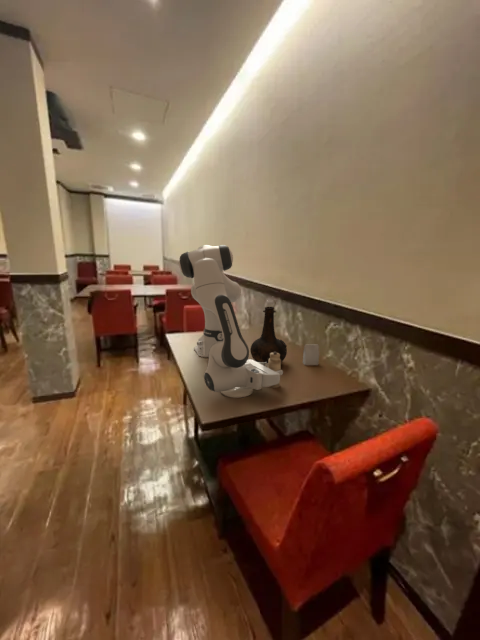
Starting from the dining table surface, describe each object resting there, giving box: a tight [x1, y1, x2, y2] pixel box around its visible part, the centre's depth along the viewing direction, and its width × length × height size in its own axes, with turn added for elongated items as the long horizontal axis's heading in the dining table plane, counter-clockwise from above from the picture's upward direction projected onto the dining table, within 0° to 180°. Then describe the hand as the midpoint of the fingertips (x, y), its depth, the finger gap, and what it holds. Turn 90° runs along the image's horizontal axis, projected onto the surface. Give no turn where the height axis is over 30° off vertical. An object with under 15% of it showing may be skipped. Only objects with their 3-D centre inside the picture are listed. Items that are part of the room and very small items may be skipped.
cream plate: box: [219, 386, 254, 399], centre depth 121 cm, size 13×13×1 cm
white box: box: [302, 343, 320, 366], centre depth 153 cm, size 4×7×10 cm, turn 96°
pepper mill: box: [268, 352, 282, 389], centre depth 126 cm, size 5×5×14 cm
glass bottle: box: [249, 306, 288, 363], centre depth 151 cm, size 18×18×28 cm
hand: (274, 367), depth 126 cm, fingers open, 8 cm apart
